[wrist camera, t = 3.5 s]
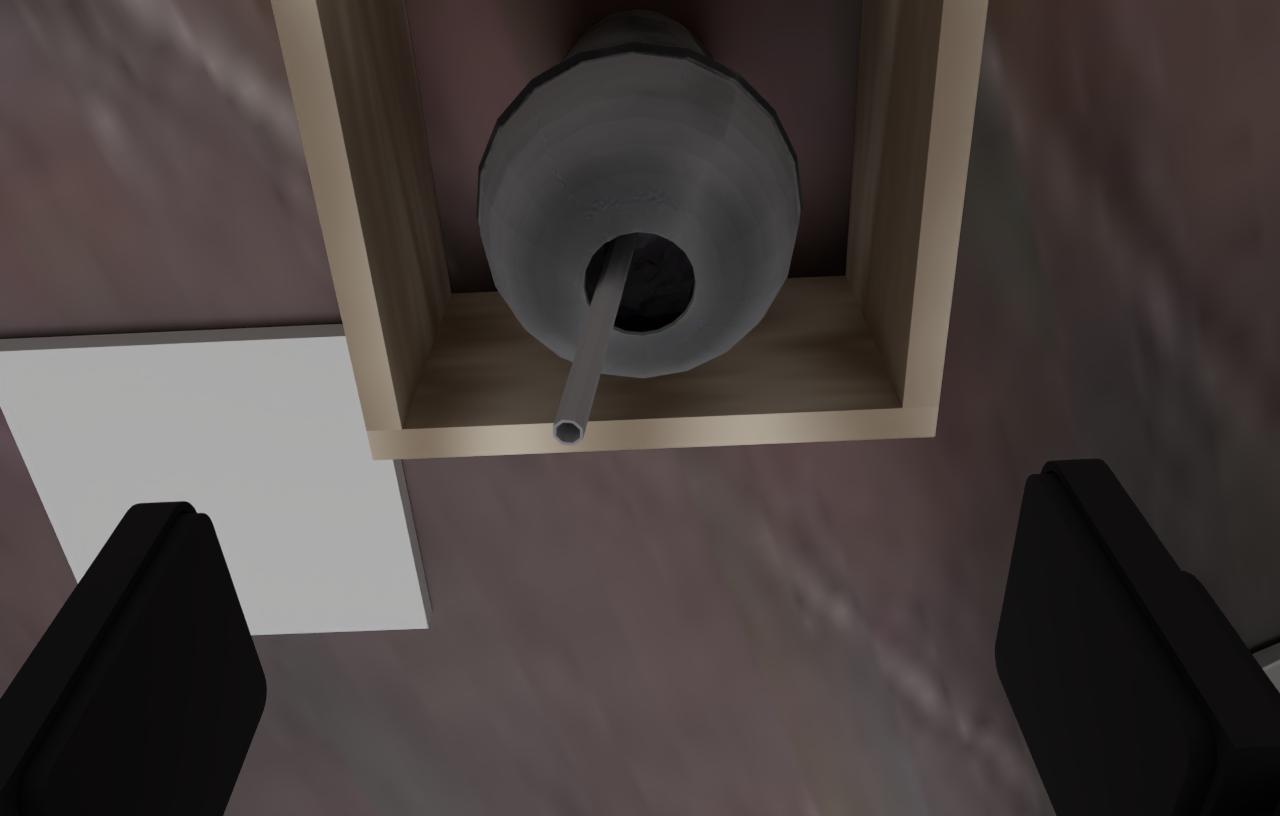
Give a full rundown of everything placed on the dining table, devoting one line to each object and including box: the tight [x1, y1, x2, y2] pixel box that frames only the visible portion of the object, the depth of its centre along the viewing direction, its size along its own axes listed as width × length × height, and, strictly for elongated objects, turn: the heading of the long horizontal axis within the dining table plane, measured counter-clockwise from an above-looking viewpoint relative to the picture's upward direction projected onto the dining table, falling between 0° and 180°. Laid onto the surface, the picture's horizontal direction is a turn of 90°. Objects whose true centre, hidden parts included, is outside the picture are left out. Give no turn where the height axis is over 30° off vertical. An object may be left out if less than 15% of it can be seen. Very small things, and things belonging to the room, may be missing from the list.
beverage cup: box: [477, 9, 803, 446], centre depth 24 cm, size 7×7×20 cm
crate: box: [271, 0, 988, 460], centre depth 29 cm, size 16×16×9 cm
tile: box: [0, 324, 432, 635], centre depth 40 cm, size 14×14×1 cm
